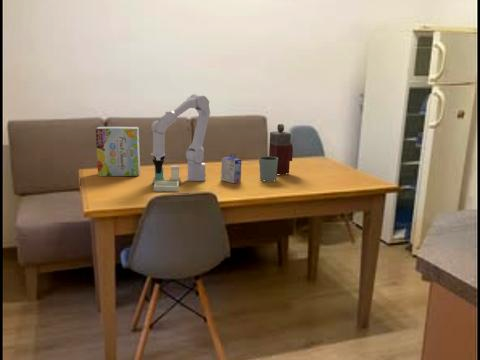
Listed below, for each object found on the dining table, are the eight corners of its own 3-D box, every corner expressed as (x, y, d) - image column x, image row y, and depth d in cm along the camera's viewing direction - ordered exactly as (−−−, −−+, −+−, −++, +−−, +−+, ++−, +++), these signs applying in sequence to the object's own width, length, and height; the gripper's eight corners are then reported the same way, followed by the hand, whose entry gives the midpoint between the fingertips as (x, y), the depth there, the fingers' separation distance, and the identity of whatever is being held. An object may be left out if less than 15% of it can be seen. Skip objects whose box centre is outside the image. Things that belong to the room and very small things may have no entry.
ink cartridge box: (241, 182, 261) (242, 154, 258) (234, 183, 257) (234, 156, 254) (227, 178, 267) (228, 152, 264) (220, 180, 263) (221, 153, 260)
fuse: (179, 180, 256) (179, 165, 254) (179, 182, 253) (179, 166, 251) (171, 180, 255) (171, 165, 253) (171, 182, 252) (171, 166, 250)
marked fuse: (163, 180, 255) (163, 165, 253) (163, 182, 252) (162, 166, 250) (155, 180, 254) (155, 165, 252) (155, 182, 251) (154, 166, 249)
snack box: (140, 173, 275) (139, 126, 268) (138, 176, 266) (137, 128, 260) (100, 172, 273) (98, 125, 267) (97, 176, 264) (95, 128, 258)
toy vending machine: (292, 174, 282) (295, 124, 275) (274, 175, 278) (277, 125, 271) (285, 170, 290) (288, 122, 283) (268, 172, 286) (270, 123, 279)
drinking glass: (275, 182, 262) (276, 160, 259) (256, 181, 264) (257, 159, 261) (278, 178, 271) (279, 156, 268) (259, 177, 273) (260, 155, 270)
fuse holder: (181, 181, 258) (181, 176, 257) (181, 185, 251) (181, 180, 250) (153, 181, 256) (153, 176, 256) (152, 185, 249) (152, 180, 249)
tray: (178, 185, 250) (178, 181, 249) (178, 191, 240) (178, 186, 239) (155, 185, 248) (155, 181, 248) (154, 191, 238) (153, 186, 238)
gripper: (151, 142, 255) (151, 168, 258) (149, 147, 241) (150, 174, 244) (165, 142, 256) (165, 168, 259) (164, 147, 242) (164, 175, 245)
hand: (158, 171), depth 252 cm, fingers open, 7 cm apart
